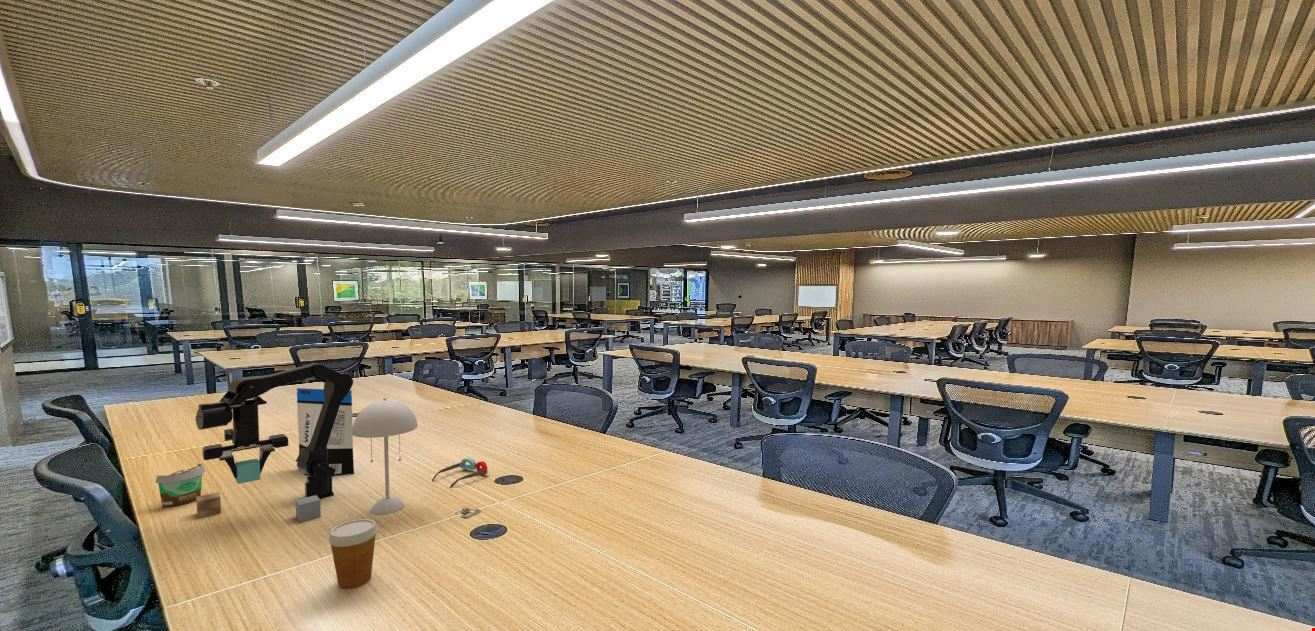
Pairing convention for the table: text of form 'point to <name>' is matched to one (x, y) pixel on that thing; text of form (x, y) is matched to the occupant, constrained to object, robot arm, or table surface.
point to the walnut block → (208, 505)
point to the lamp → (385, 438)
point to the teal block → (247, 470)
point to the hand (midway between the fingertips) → (247, 475)
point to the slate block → (308, 508)
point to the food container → (180, 486)
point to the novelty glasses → (466, 467)
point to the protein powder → (341, 431)
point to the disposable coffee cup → (353, 551)
